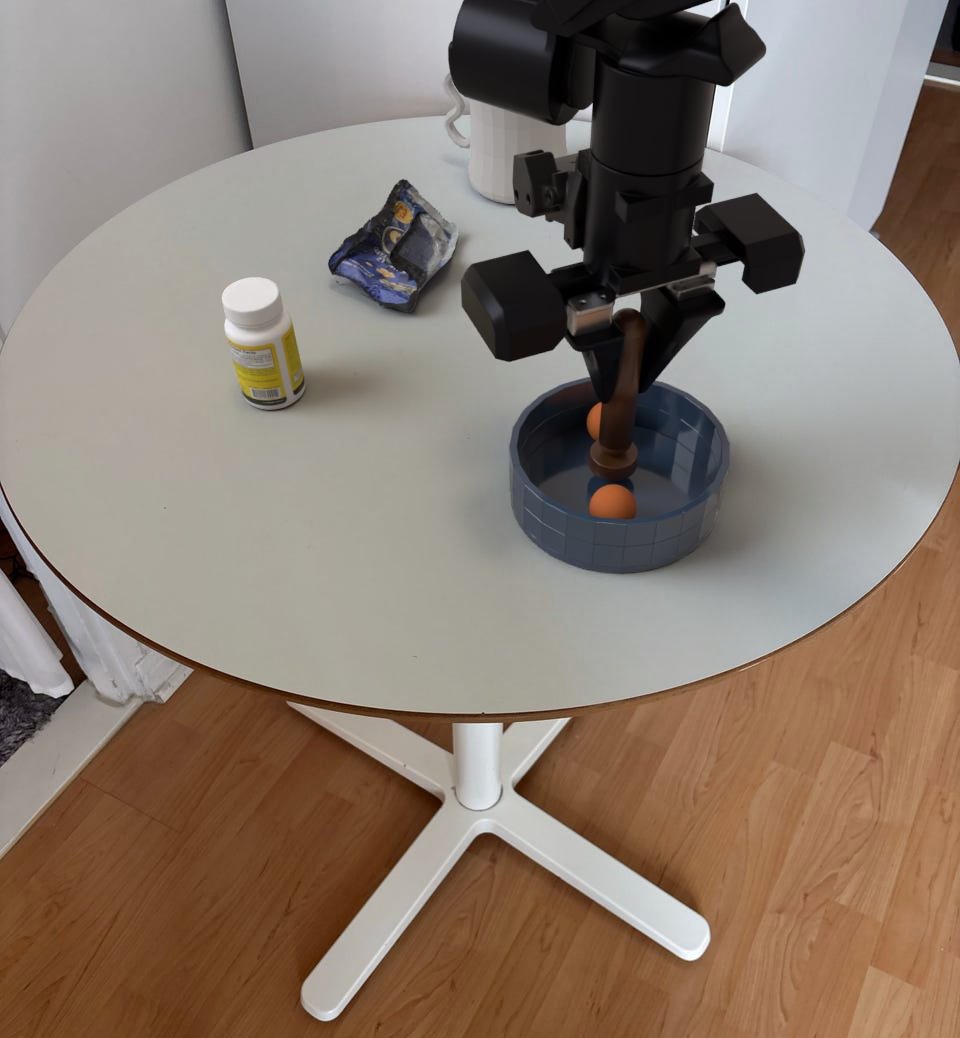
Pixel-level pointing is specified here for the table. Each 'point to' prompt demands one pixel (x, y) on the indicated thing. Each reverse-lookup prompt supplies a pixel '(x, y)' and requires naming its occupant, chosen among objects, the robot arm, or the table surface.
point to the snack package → (397, 249)
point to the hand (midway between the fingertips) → (620, 394)
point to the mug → (498, 142)
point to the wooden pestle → (621, 405)
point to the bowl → (655, 483)
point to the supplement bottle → (262, 343)
